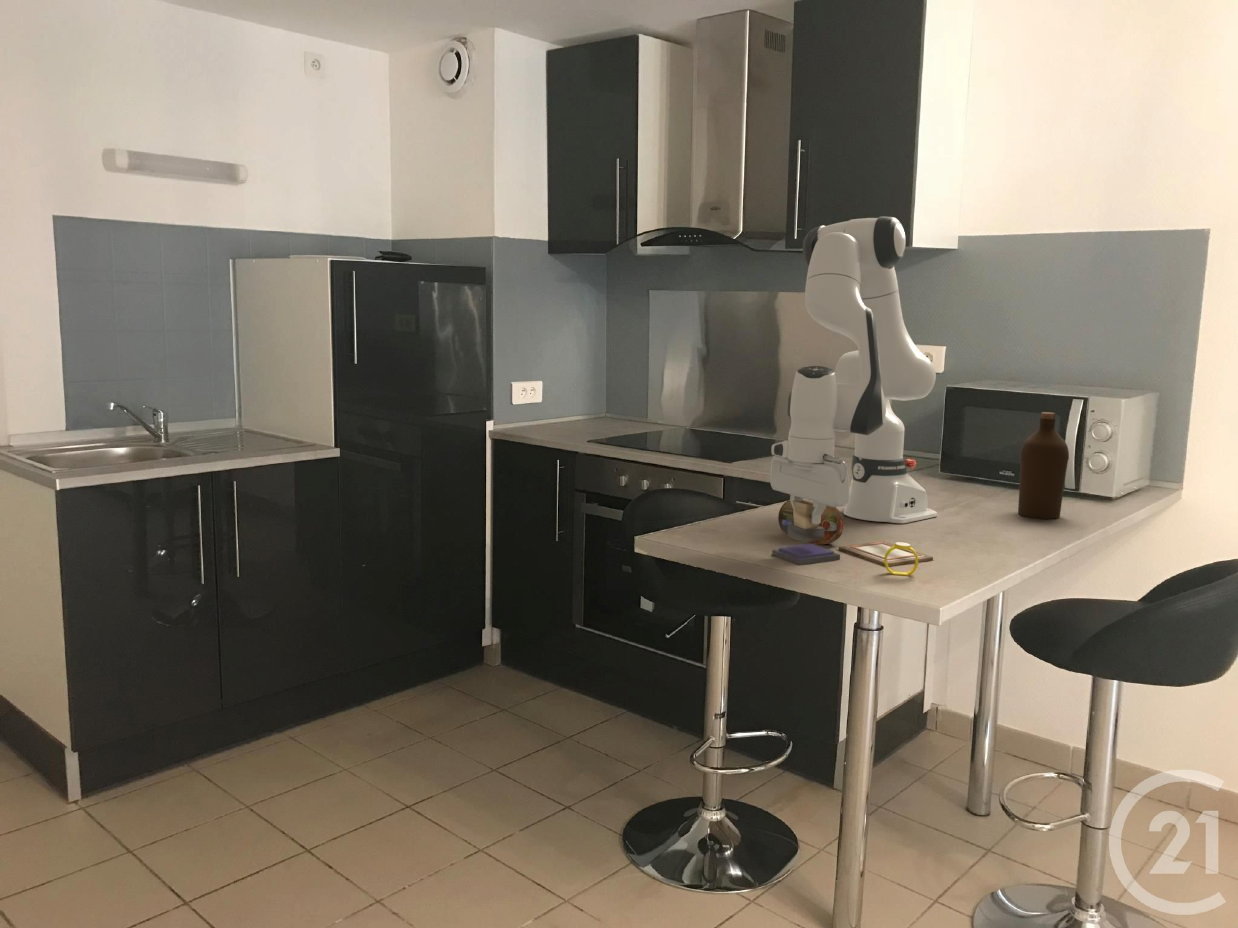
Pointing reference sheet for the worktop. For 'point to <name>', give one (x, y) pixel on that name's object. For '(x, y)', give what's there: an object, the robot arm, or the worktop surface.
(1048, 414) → the olive oil
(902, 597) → the worktop surface
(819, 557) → the ink pad
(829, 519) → the tin
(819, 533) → the stamp
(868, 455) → the robot arm
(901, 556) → the board
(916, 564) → the watch
